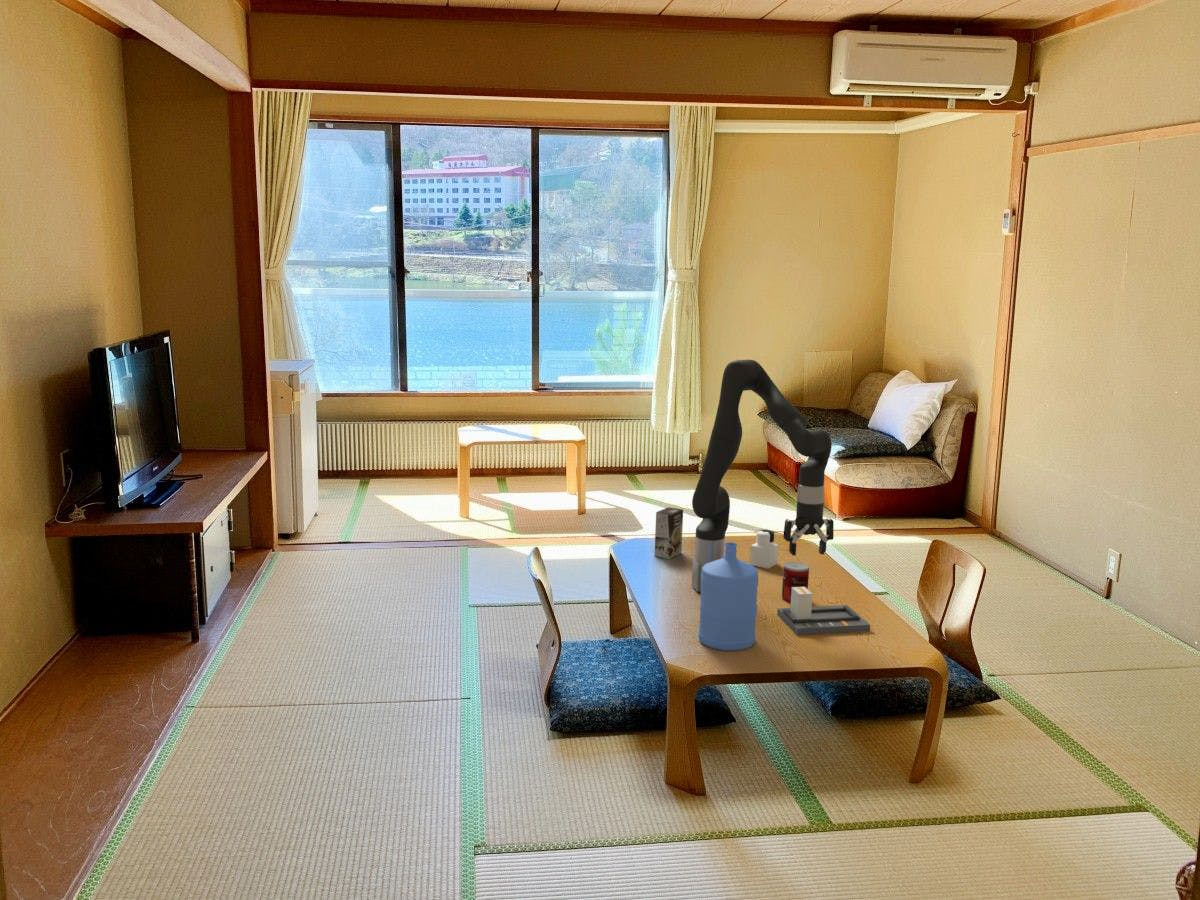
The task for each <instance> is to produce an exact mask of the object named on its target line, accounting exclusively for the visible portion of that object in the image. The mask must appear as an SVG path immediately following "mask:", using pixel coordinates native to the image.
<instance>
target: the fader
mask: <svg viewBox="0 0 1200 900" xmlns="http://www.w3.org/2000/svg"><path fill="white" fill-rule="evenodd" d="M812 605H813V593H812V591H811V590H809V588H808V589H807V588H806V587H792V590H791V603H790V607H789V608H790V613H791V614H792V615H793V616H794V617H795V618H796V619H797V620H799V619H811V610H812V607H813V606H812Z"/></svg>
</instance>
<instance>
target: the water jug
mask: <svg viewBox="0 0 1200 900" xmlns="http://www.w3.org/2000/svg"><path fill="white" fill-rule="evenodd" d="M737 547H738V544H737V543H735V542H726V543H725V548H724V558H722V559H719V560H716V561H713V562H709V563H707V564H705V565H704V566H703V567H702V573H701V592H700V605H699V612H700V613H699V626H698V627H699V628H698V639H699V641H700V642H701V643H702V644H703V645H705V646H706V647H709V648H711V649H714V650H717V651H718V650H719V651H725V652H727V651H729V652H733V651H734V652H735V651H742V650H746V649H748V648H750V647H752V646H753V645H754V644H755V642H756V623H757V622H756V619H757V612H758V606H757V605H758V603H757V601H758V600H757V599H758V587H759V571H758V569H757V568H756V566H753V565H750V563H748V562H745V561H743V560H741V559H739V558H737V551H738V550H737Z"/></svg>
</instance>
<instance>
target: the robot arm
mask: <svg viewBox="0 0 1200 900" xmlns="http://www.w3.org/2000/svg"><path fill="white" fill-rule="evenodd" d="M723 370H724V371H723V374H722V380H721V384H720V385H721V386H720V393H719V400H718V405H717V409H716V414H715V418H714V419H715V420H714V423H713V427H712V430H711V433H710V438H709V441H708V446H707V447H708V448H707V451H706V454H705V457H704V458H705V459H704V462H703V465H702V470H701V473H700V476H699V479H698V482H697V483H696V487H695V488H694V489H695V490H694V492H693V494H692V495H693V496H692V500H691V505H692V511H693V512H694V514H695V516H697V517H698V518H700V519H702V520H701V521H700V523H699V524H698V525H697V526H696V529H695V542H694V543H695V544H694V545H695V546H694V547H695V548H694V557H693V558H692V569H691V571H692V574H691V575H692V576H691V586H692V588H693V589H694V591H695V592H697V593H701V573H702V567H703V566H704V565H705V564H707V563H709V562H713V561H716V560H719V559H722V558H724V557H725V548H726V546H725V544H726V543H725V542H726V532H727V530H728V527H729V521H730V509H731V502H730V501H731V500H730V496H729V492H728V491H727V489H725V487H723V486H721V483H722V480H723V478H724V476H726V475H725V474H726V473H727V472H728V470H729V468H730V467H731V466H732V464H733V462H734V461H735V459H736V457H737V455H738V453H739V449H740V446H741V441H742V438H743V427H742V423H741V419H740V418H741V417H740V413H739V412H740V411H739V409H740V408H739V407H740V401H741V398H742V396H743V393H744V391H745V392H746V391H752V392H754V393H755V394H756V395H757V396H759V397H760V398H761V399H762V400H763V402H764V404H765V405H766V409H767V412H768V414H769V416H770V418H771V419H772V421H773V422H774V423H775V424H776V426H778V427H779V428H780V429H781V430H782V431H783V432H784V433H785V434H786V435H787V437H788V439H789V441H790V443H791V445H792V446H793V448H794V450H795V451H796V452H797V454H800V456H801V455H802V456H803V457H807V460H806V461H805V462H804V463H802V464H801V465H800V467H799V473H798V474H799V476H798V487H797V493H796V513H795V514H796V516H795V520H794V519H792V520H791V519H788V518H786V519H785V520H784V526H783V536H782V537H783V539H784V540H785V541H786V542H789V548H788V550H789V553H790V554H791V555H792V556H796V555H797V541H798V540H799V539H800V538H801V537H803V535H804V536H808V535H811V536H813V535H817V536H818V537H819V539H820V540H819V544H818V545H819V547H818V553H819V554H820V555H824V554H825V553H826V552H827V542H828V541H830V540H831V541H832V540H834V525H835V524H834V519H832V518H831V517H827V518H824V517H823V516H824V508H825V507H824V506H825V505H824V504H825V471H826V469H827V468H826V467H827V465H828V462H829V459H830V456H831V452H832V438H831V436H830V434H829V433H828V432H827V431H826V430H824V429H816V430H810V431H809V430H808V429H806V427H807V425H808V420H807V419H806V417H805V416H804V414H802V413H801V412H800V411H799V410H798V408H796V407H795V406H794V405H793V404H792V403H791V402H790V401H789V400H788V399H787V397H785V396H784V394H783V393H782V392H781V391H780V390H779V387H777V385H776V383H775V382H774V381H773V380H772V379H771V378H770V376H769V374H768V373H767V371H766V370H765V369H764V367H763V366H762V365H761V363H760V362H758V361H756V360H755V359H754V360H753V359H735V360H732V361H729V362H728V364H726V366H725V368H724V369H723ZM823 525H824V526H825V531H826V534H824V532H823V531H822V529H821V528H822V527H823ZM794 527H795V529H794V531H792V529H793V528H794Z"/></svg>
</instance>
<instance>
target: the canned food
mask: <svg viewBox="0 0 1200 900" xmlns="http://www.w3.org/2000/svg"><path fill="white" fill-rule="evenodd" d="M782 568H783V569H782V571H783V572H782V584H781V585H782V587H781V597H782V598H781V599H782V600H783V601H785V602H787V603H790V604H791V590H792V587H806V588H807V589H808V590H809V579H810V577H809V575H810V566H809V565H808V564H806V563H804V562H799V561H787V562H785V563H784V564H783V567H782Z"/></svg>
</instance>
